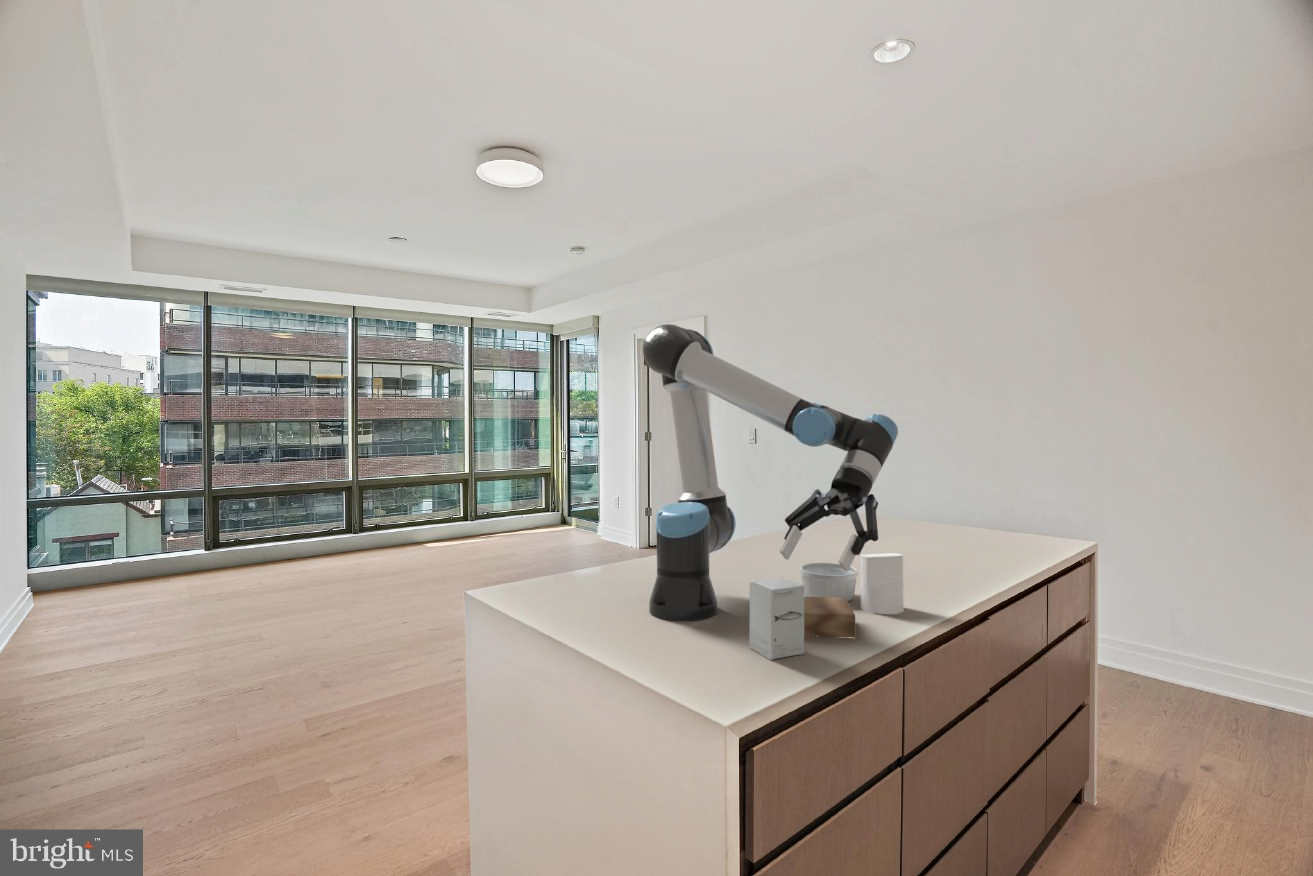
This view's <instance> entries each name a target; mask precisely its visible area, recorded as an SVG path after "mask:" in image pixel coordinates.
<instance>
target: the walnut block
mask: <svg viewBox="0 0 1313 876" xmlns="http://www.w3.org/2000/svg"><path fill="white" fill-rule="evenodd" d="M805 636H806V637H805ZM813 636H814V637H813ZM817 636H818V637H817ZM820 637H852V638H853V637H854V638H855V639H856V613H855V612H854V611H853V609H852V607H851V605H850V603H849V601H848V602H847V600H846V598H841V597H806V596H804V638H820Z"/></svg>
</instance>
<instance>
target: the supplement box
mask: <svg viewBox="0 0 1313 876" xmlns="http://www.w3.org/2000/svg"><path fill="white" fill-rule="evenodd" d="M804 597H805V594H804V585H802V583H798V582H796V581H793V580H790V579H787V578H784V577H776V578H775V577H773V578H767V579H759V580H758V579H757V580H751V581H749V649H752V650H753V651H755V652H756V653H758V654H760V655H762V657H764V658H767V659H768V660H769V661H773V660H777V659H781V658H787V657H792V656H799V655H804V654H805V637H804Z"/></svg>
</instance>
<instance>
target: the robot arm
mask: <svg viewBox="0 0 1313 876" xmlns="http://www.w3.org/2000/svg"><path fill="white" fill-rule="evenodd" d="M642 355H643V358H644V361H645V362H646V365H647V366H648V367H649V368H650V369H651V370H652V371H653V372H656V373H658V374H659V375H661V379H662V388H663V389H664V390H665V391H667V392H668V393H669V394H670V401H671V402H670V403H671V408H672V415H673V422H674V423H673V424H674V425H673V426H674V429H675V431H674V432H675V437H676V438H675V441H676V446H677V454H678V461H679V469H680V478H681V485H682V493H680V495H679V496H678V498H677V502H675V503H670V504H666V505H664V506H662V507H660V509H659V510H658V511H657V512H656V513H657V514H656V522H655V530H656V578H655V583H654V586H653V588H652V592H651V594H650V597H649V602H648V603H649V604H648V605H649V606H648V609H649V612H650V614H651V615H652V616H655V617H657V618H660V619H663V620H670V621H696V620H704V619H707V618H711V617H713V616H715V615H716V614H717V613H718V611H719V610H718V607H719V606H718V603H719V602H718V599H717V596H716V592H715V589H714V586H713V583H712V580H711V577H710V554H711V553H713V552H717V551H718V550H721V549H722V548H724V547H725V546H726V545H727V544H728V543H729V542H730V541H731V540H732V537H733V536H734V534H735V531H736V522H737V521H736V517H735V515H734V512H733V510H732V509H731V507H729V506H728V502H727V500H728V499H727V494H726V492H724V490H722V489H721V488H720V487H719V483H718V474H717V468H716V460H715V452H714V442H713V437H712V429H711V428H712V427H711V421H710V413H709V406H708V397H707V392H708V393H710V394H711V395H714V396H716V397H717V398H719V399H721V400H724V401H726V402H727V403H729V404H732V405H733V406H735V407H737V408H739V409H741V410H743V411H745V412H747V413H750V414H751V415H753V416H754V417H757V418H759V419H761V420H762V421H765V422H767V423H768V424H771V425H772V426H774V427H775V428H778V429H779V430H782V431H784V432H786V433H788V434H790V435H791V436H793V437H795V438H796V439H797V441H799V442H800V443H801V444H803V445H805V446H808V447H813V448H814V447H821V446H824V445H828V446H832V447H833V448H834V447H835V448H837V449H840V450H842V451H845V452H846V455H845V457H844V458H843V460H842V462H841V464H840V465H839V467H838V470H837V472H836V473H835V475H834V477H833V479H832V481H831V485H830V486H831V487H830V489H829V490H828V491H827V492H826V493H825V492H822V491H821V490H820V489H819V488H816V489H815V490H814V491H813V493H812V494H811V495H810V496H809V498H807V499H806V500H805V501H804V502H803V503H801V504H800V506H798V507H797V508H796V509H795V510H793V511H792V512H791V513H790V514H789V515H787V516H786V518H784V522H785V523H786V524H787V526H788V527H789V528H788V530H787V531H786V534H785V536H784V538H783V539H784V542H783V544H782V546H781V548H780V549H779V553H780V554H781V555H782V556H783V558H784V559H785V560H789V559H790V558H791V556H792V554H793V552H794V551H795V549H796V547H797V544H798V543H799V541H800V539H801V537H802V535H803V533H802V532H801V531H803V530H805V529H806V528H809V527H810V526H812V525H813V524H815V523H816V522H819V520H821V519H823V518H824V517H826V518H828V517H829V516H832V515H833V516H842V517H847V516H848V515H849V517H850V519H851V522H852V524H853V527H854V529H855V532H856V534H855V533H852V534H851V535H850V537H849V540H848V541H847V544H846V546H845V547H844V550H843V552H842V554H841V556H840V557H839V560H838V564H840V565H841V567H842V568H843V569H844V571H848V570H849V568H850V566H852V565H853V564H852V563H853V562H854V559H855V558H856V556H859V555H861V552H862V550H863V548H864V547H865V544H867V543H868V542H869V541H873V542H877V541H878V540H879V530H878V518H877V509H878V506H879V502H878V500H877V499H876V497H875V495H874V494H873V493H870V492H871V490H872V488H873V486H874V484H875V482H876V480H877V478H878V475H879V474H880V472H881V470H882V468H883V466H884V464H885V462H886V461H887V459H888V457H889V454H890V453H891V451H892V449H893V446H894V445H895V443H896V439H897V437H898V435H899V429H898V426H897V424H896V423H895V421H894V419H891V418H890V417H888V416H886V415H884V414H875V413H873V414H869V415H868V416H866V418H865V419H861V418H858V417H854V416H851V415H849V414H846V413H845V412H842V411H839V410H836V409H834V408H831V407H829V406H827V405H824V404H823V405H822V404H819V403H816V402H810V401H808V400H805V399H803V398H801V397H799V396H797V395H795V394H793V393H791V392H789V391H787V390H785V389H783V388H782V387H781V388H780V386H777V385H775V384H772V383H771V382H768V381H766V380H765V379H762V378H760V377H759V376H757V375H754V374H752V373H750V372H749V371H746V370H744V369H742V368H740V367H738V366H736V365H734V364H732V363H730V362H728V361H725V360H724V359H722V358H720V357H718V356H715V355H714V351H713V347H712V345H711V343H710V341H709V340H708V338H706V337H705V336H704V335H702V334H701V333H700V332H698V331H696V330H694V329H689V328H684V327H681V326H678V325H676V324H670V323H669V324H668V323H666V324H660V325H658V326H656V327H655V328H653V329H651V330H650V331H649V333H647V335H646V336H645V339H644V341H643V345H642ZM825 506H826V508H827V509H826V508H825ZM863 506H864V509H865V520H866V521H865V522H866V523H865V524H866V530H865V528H864V526H863V522H862V521H861V517H860V515H859V513H858V511H857V510H859V509H860V508H861V507H863Z"/></svg>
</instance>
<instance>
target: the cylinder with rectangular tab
mask: <svg viewBox="0 0 1313 876" xmlns="http://www.w3.org/2000/svg"><path fill="white" fill-rule="evenodd" d="M860 609H861V610H862V609H863V610H862V611H864V610H865V612H866V611H867V612H866V613H870V612H873V613H872V614H874V613H877V614H876V615H881V614H895V615H898V614H897V613H900V612H902V613H903V612H904V555H903V554H901V553H897V552H890V553H889V552H888V553H870V554H869V553H867V554H860ZM878 613H879V614H878ZM900 614H901V613H900Z"/></svg>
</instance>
